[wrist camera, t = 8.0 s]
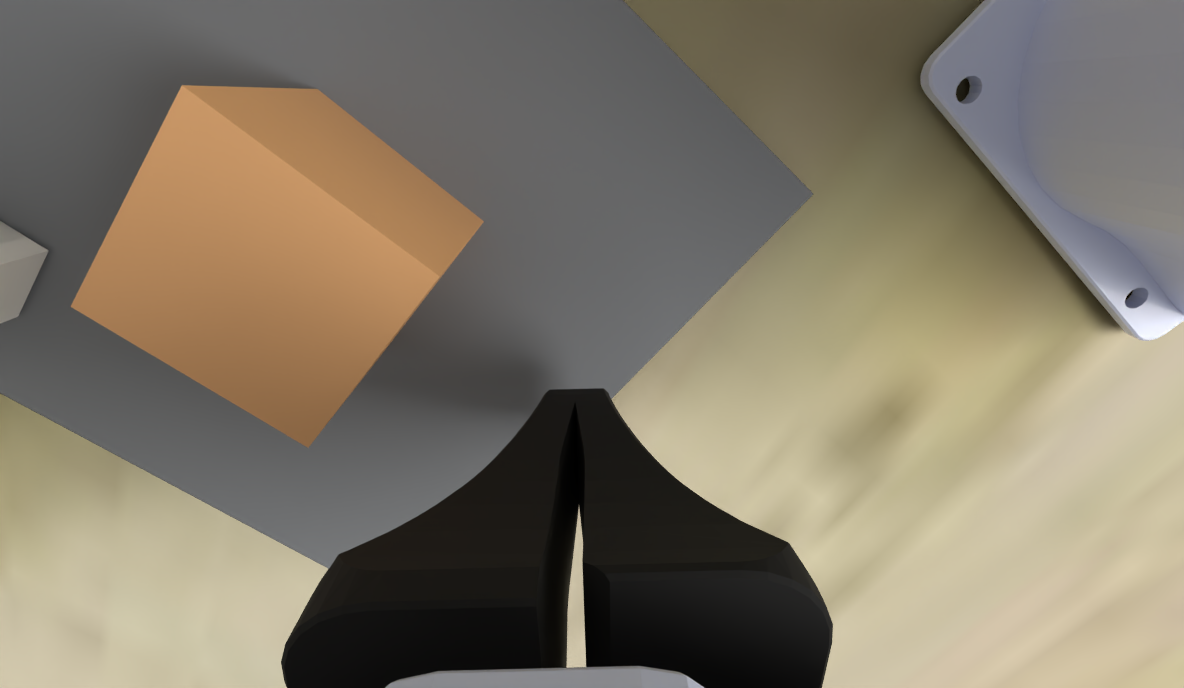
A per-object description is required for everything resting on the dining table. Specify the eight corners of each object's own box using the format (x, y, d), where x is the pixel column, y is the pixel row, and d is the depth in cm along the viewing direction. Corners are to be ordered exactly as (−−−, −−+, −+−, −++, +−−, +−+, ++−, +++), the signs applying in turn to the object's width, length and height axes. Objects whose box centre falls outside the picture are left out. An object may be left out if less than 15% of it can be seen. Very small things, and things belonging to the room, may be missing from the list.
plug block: (484, 221, 12) (439, 276, 8) (384, 350, 13) (308, 448, 9) (317, 89, 11) (181, 85, 7) (226, 242, 12) (71, 306, 8)
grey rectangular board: (796, 186, 13) (813, 194, 12) (413, 582, 18) (404, 609, 17) (-408, -1028, 7) (-568, -1210, 6) (-484, 86, 12) (-577, 85, 11)
